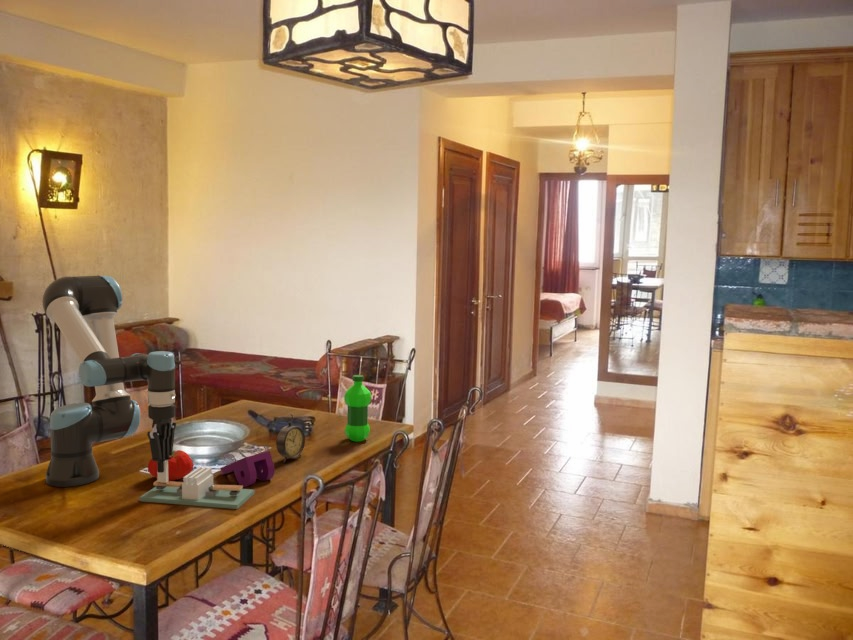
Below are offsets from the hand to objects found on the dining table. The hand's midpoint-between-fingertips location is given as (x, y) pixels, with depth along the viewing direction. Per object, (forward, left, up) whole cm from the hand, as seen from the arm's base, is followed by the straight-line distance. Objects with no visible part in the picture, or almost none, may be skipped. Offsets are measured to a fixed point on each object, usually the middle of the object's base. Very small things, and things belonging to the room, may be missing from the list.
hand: (162, 481), depth 220 cm
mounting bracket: (+18, +19, -5) cm, 27 cm away
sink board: (+11, 0, -4) cm, 12 cm away
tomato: (-5, +15, -4) cm, 16 cm away
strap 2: (+20, 0, -1) cm, 20 cm away
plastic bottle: (+42, +71, -4) cm, 83 cm away
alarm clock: (+25, +42, -4) cm, 49 cm away
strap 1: (+2, 0, -1) cm, 3 cm away
